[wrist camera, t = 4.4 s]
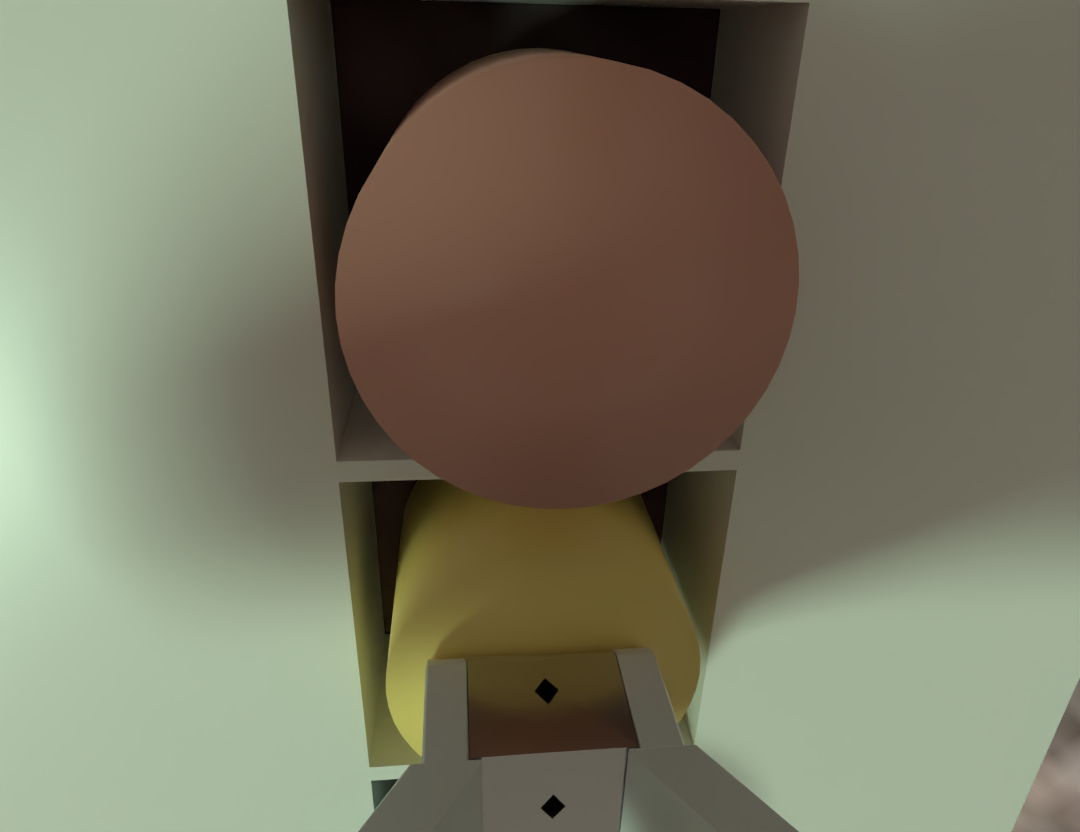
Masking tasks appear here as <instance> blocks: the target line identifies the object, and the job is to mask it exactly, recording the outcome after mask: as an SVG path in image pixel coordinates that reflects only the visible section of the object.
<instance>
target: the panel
mask: <svg viewBox="0 0 1080 832" xmlns="http://www.w3.org/2000/svg"><path fill="white" fill-rule="evenodd" d="M420 1H456V2H492V3H528V4H563V5H599V6H635V7H671V8H707V9H720V17H719V26H718V35H717V44H716V53H715V62H714V71H713V80H712V89H711V98H710V100H711V101H712V102H713V103H715V104H716V105H717V106H718V107H719V108H721V109H722V110H723V111H724V112H726V113H727V114H728V115H729V116H730V117H732V118H733V119H734V120H735V121H736V122H737V123H738V124H739V126H740V127H741V128H742V129H743V130H744V131H745V132H746V133H747V134H748V135H749V137H750V138H751V139H752V140H753V141H754V142H755V143H756V145H757V146H758V148H759V149H760V151H761V152H762V154H763V155H764V157H765V158H766V160H767V161H768V163H769V164H770V166H771V167H772V169H773V171H774V173H775V176H776V178H777V180H778V182H779V184H780V186H781V188H782V190H783V193H784V195H785V197H786V201H787V204H788V207H789V210H790V214H791V217H792V220H793V223H794V229H795V235H796V241H797V247H798V256H799V288H798V297H797V306H796V313H795V317H794V321H793V325H792V330H791V334H790V338H789V341H788V343H787V346H786V349H785V351H784V354H783V357H782V359H781V362H780V365H779V367H778V369H777V371H776V372H775V374H774V376H773V378H772V380H771V382H770V384H769V386H768V388H767V390H766V391H765V393H764V394H763V396H762V397H761V399H760V400H759V401H758V403H757V404H756V406H755V407H754V409H753V410H752V412H751V413H750V414H749V415H748V417H747V418H746V419H745V420H744V421H743V422H742V424H741V425H740V426H739V427H738V428H737V429H736V430H735V432H734V433H733V434H732V435H731V436H730V437H729V438H728V439H726V440H725V441H724V442H723V443H722V444H721V445H720V446H719V447H718V448H717V449H716V450H715V451H713V452H712V453H711V454H710V455H708V456H707V457H706V458H704V459H703V460H701V461H700V462H699V463H697V464H696V465H695V466H693V467H692V468H691V469H689V470H687V471H685V472H684V473H682V474H680V475H679V476H677V477H675V478H673V479H672V480H670V481H668V486H667V495H666V504H665V513H664V522H663V531H662V540H661V546H662V549H663V551H664V554H665V556H666V559H667V561H668V564H669V566H670V569H671V571H672V574H673V576H674V579H675V581H676V584H677V586H678V589H679V591H680V594H681V596H682V599H683V601H684V604H685V606H686V609H687V611H688V614H689V616H690V619H691V622H692V624H693V627H694V629H695V632H696V636H697V639H698V643H699V649H700V658H701V661H700V675H699V679H698V684H697V688H696V691H695V694H694V696H693V699H692V701H691V703H690V705H689V707H688V709H687V711H686V712H685V714H684V716H683V717H682V719H681V720H680V721H679V723H678V726H679V729H680V732H681V735H682V738H683V741H684V744H685V745H697V746H698V747H700V748H701V749H702V750H703V751H704V752H705V753H707V754H708V755H709V756H710V757H711V758H713V759H714V760H715V761H716V762H717V763H718V764H720V765H721V766H722V767H723V768H724V769H726V770H727V771H728V772H729V773H730V774H731V775H733V776H734V777H735V778H736V779H737V780H739V781H740V782H741V783H742V784H743V785H744V786H746V787H747V788H748V789H749V790H750V791H752V792H753V793H754V794H755V795H756V796H757V797H759V798H760V799H761V800H762V801H763V802H765V803H766V804H767V805H768V806H769V807H770V808H772V809H773V810H774V811H775V812H776V813H778V814H779V815H780V816H781V817H782V818H783V819H785V820H786V821H787V822H788V823H789V824H791V825H792V826H793V827H794V828H795V829H796V830H798V831H799V832H1012V829H1013V827H1014V825H1015V823H1016V820H1017V818H1018V816H1019V814H1020V811H1021V809H1022V807H1023V804H1024V802H1025V800H1026V798H1027V795H1028V793H1029V791H1030V789H1031V786H1032V784H1033V782H1034V780H1035V777H1036V775H1037V773H1038V771H1039V768H1040V766H1041V764H1042V761H1043V759H1044V757H1045V755H1046V752H1047V750H1048V748H1049V746H1050V743H1051V741H1052V739H1053V737H1054V734H1055V732H1056V730H1057V728H1058V725H1059V723H1060V721H1061V719H1062V716H1063V714H1064V712H1065V709H1066V707H1067V705H1068V703H1069V700H1070V698H1071V696H1072V694H1073V691H1074V689H1075V687H1076V685H1077V682H1078V680H1079V678H1080V0H420ZM348 219H349V211H348V199H347V188H346V176H345V164H344V153H343V141H342V130H341V118H340V106H339V95H338V83H337V71H336V60H335V48H334V36H333V25H332V13H331V2H330V0H0V832H358V831H359V830H360V828H361V827H362V826H363V824H364V823H365V822H366V820H367V819H368V818H369V817H370V815H371V814H372V813H373V811H374V810H375V809H376V808H377V806H378V805H379V804H380V802H381V801H382V800H383V799H384V797H385V796H386V795H387V793H388V792H389V791H390V789H391V788H392V787H393V786H394V784H395V783H396V782H397V779H399V778H400V777H401V775H402V774H403V773H404V771H405V770H406V769H407V767H408V766H409V765H410V764H421V763H422V757H421V756H420V755H419V754H418V753H417V752H416V751H415V750H413V749H412V748H411V746H410V745H409V744H408V743H407V742H406V740H405V739H404V738H403V737H402V735H401V734H400V732H399V730H398V728H397V727H396V725H395V723H394V721H393V718H392V716H391V713H390V710H389V707H388V702H387V696H386V670H387V661H388V652H389V642H390V634H385V629H384V618H383V606H382V595H381V583H380V571H379V560H378V548H377V536H376V525H375V513H374V502H373V490H372V481H399V480H431V479H441V478H439V477H437V476H436V475H434V474H433V473H431V472H430V471H429V470H427V469H426V468H424V467H423V466H421V465H420V464H418V463H417V462H416V461H414V460H413V459H412V458H411V457H410V456H409V455H408V454H407V453H405V452H404V451H403V450H402V449H401V448H400V447H399V446H398V445H397V444H395V443H394V441H393V440H392V439H391V438H390V437H389V436H388V434H387V433H386V432H385V431H384V430H383V429H382V427H381V426H380V425H379V424H378V423H377V421H376V420H375V418H374V417H373V415H372V414H371V412H370V411H369V409H368V408H367V406H366V405H365V403H364V401H363V400H362V398H361V396H360V394H359V392H358V390H357V388H356V386H355V384H354V381H353V379H352V377H351V375H350V373H349V370H348V367H347V364H346V360H345V357H344V354H343V351H342V348H341V344H340V338H339V332H338V326H337V320H336V306H335V280H336V271H337V263H338V254H339V250H340V247H341V243H342V239H343V235H344V231H345V227H346V224H347V221H348Z"/></svg>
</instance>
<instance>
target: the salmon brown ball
mask: <svg viewBox="0 0 1080 832" xmlns="http://www.w3.org/2000/svg"><path fill="white" fill-rule="evenodd" d="M798 288H799V256H798V247H797V241H796V235H795V229H794V223H793V220H792V217H791V214H790V210H789V207H788V204H787V201H786V197H785V195H784V193H783V190H782V188H781V186H780V184H779V182H778V180H777V178H776V176H775V173H774V171H773V169H772V167H771V166H770V164H769V163H768V161H767V160H766V158H765V157H764V155H763V154H762V152H761V151H760V149H759V148H758V146H757V145H756V143H755V142H754V141H753V140H752V139H751V138H750V137H749V135H748V134H747V133H746V132H745V131H744V130H743V129H742V128H741V127H740V126H739V124H738V123H737V122H736V121H735V120H734V119H733V118H732V117H730V116H729V115H728V114H727V113H726V112H724V111H723V110H722V109H721V108H719V107H718V106H717V105H716V104H715V103H713V102H712V101H711V100H710V99H708V98H707V97H705V96H703V95H702V94H700V93H698V92H697V91H695V90H693V89H691V88H690V87H688V86H686V85H685V84H683V83H681V82H679V81H677V80H674V79H672V78H669V77H667V76H664V75H662V74H660V73H657V72H655V71H652V70H649V69H645V68H641V67H637V66H633V65H629V64H625V63H621V62H617V61H612V60H607V59H603V58H598V57H593V56H589V55H584V54H579V53H575V52H570V51H565V50H557V49H547V48H528V49H515V50H510V51H505V52H499V53H494V54H492V55H489V56H486V57H483V58H480V59H477V60H475V61H472V62H470V63H468V64H466V65H464V66H462V67H460V68H459V69H457V70H455V71H453V72H451V73H450V74H448V75H447V76H446V77H444V78H443V79H441V80H440V81H439V82H437V83H436V84H434V85H433V86H432V87H431V88H430V89H429V90H428V91H427V92H426V93H425V94H424V95H423V96H422V97H420V98H419V99H418V100H417V101H416V102H415V104H414V105H413V106H412V108H411V109H410V110H409V111H408V113H407V114H406V115H405V116H404V118H403V119H402V120H401V122H400V124H399V125H398V127H397V129H396V131H395V132H394V134H393V136H392V137H391V139H390V141H389V143H388V144H387V146H386V148H385V149H384V151H383V153H382V155H381V156H380V158H379V160H378V162H377V163H376V165H375V167H374V168H373V170H372V172H371V174H370V175H369V177H368V179H367V181H366V182H365V184H364V186H363V187H362V189H361V191H360V193H359V194H358V197H357V199H356V202H355V204H354V207H353V209H352V211H351V214H350V216H349V219H348V221H347V224H346V227H345V231H344V235H343V239H342V243H341V247H340V250H339V254H338V263H337V271H336V280H335V306H336V320H337V326H338V332H339V338H340V344H341V348H342V351H343V354H344V357H345V360H346V364H347V367H348V370H349V373H350V375H351V377H352V379H353V381H354V384H355V386H356V388H357V390H358V392H359V394H360V396H361V398H362V400H363V401H364V403H365V405H366V406H367V408H368V409H369V411H370V412H371V414H372V415H373V417H374V418H375V420H376V421H377V423H378V424H379V425H380V426H381V427H382V429H383V430H384V431H385V432H386V433H387V434H388V436H389V437H390V438H391V439H392V440H393V441H394V443H395V444H397V445H398V446H399V447H400V448H401V449H402V450H403V451H404V452H405V453H407V454H408V455H409V456H410V457H411V458H412V459H413V460H414V461H416V462H417V463H418V464H420V465H421V466H423V467H424V468H426V469H427V470H429V471H430V472H431V473H433V474H434V475H436V476H437V477H439V478H441V479H443V480H445V481H447V482H449V483H450V484H452V485H454V486H456V487H458V488H460V489H462V490H465V491H468V492H470V493H473V494H475V495H478V496H481V497H483V498H486V499H490V500H494V501H498V502H502V503H506V504H510V505H516V506H523V507H531V508H543V509H569V508H580V507H591V506H596V505H601V504H606V503H611V502H616V501H619V500H622V499H625V498H629V497H632V496H635V495H638V494H641V493H644V492H646V491H648V490H651V489H653V488H655V487H657V486H660V485H662V484H664V483H666V482H668V481H670V480H672V479H673V478H675V477H677V476H679V475H680V474H682V473H684V472H685V471H687V470H689V469H691V468H692V467H693V466H695V465H696V464H697V463H699V462H700V461H701V460H703V459H704V458H706V457H707V456H708V455H710V454H711V453H712V452H713V451H715V450H716V449H717V448H718V447H719V446H720V445H721V444H722V443H723V442H724V441H725V440H726V439H728V438H729V437H730V436H731V435H732V434H733V433H734V432H735V430H736V429H737V428H738V427H739V426H740V425H741V424H742V422H743V421H744V420H745V419H746V418H747V417H748V415H749V414H750V413H751V412H752V410H753V409H754V407H755V406H756V404H757V403H758V401H759V400H760V399H761V397H762V396H763V394H764V393H765V391H766V390H767V388H768V386H769V384H770V382H771V380H772V378H773V376H774V374H775V372H776V371H777V369H778V367H779V365H780V362H781V359H782V357H783V354H784V351H785V349H786V346H787V343H788V341H789V338H790V334H791V330H792V325H793V321H794V317H795V313H796V306H797V297H798Z"/></svg>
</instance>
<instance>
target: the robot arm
mask: <svg viewBox="0 0 1080 832" xmlns="http://www.w3.org/2000/svg"><path fill="white" fill-rule="evenodd" d="M467 686H468V697H467ZM358 832H799V831H798V830H796V829H795V828H794V827H793V826H792V825H791V824H789V823H788V822H787V821H786V820H785V819H783V818H782V817H781V816H780V815H779V814H778V813H776V812H775V811H774V810H773V809H772V808H770V807H769V806H768V805H767V804H766V803H765V802H763V801H762V800H761V799H760V798H759V797H757V796H756V795H755V794H754V793H753V792H752V791H750V790H749V789H748V788H747V787H746V786H744V785H743V784H742V783H741V782H740V781H739V780H737V779H736V778H735V777H734V776H733V775H731V774H730V773H729V772H728V771H727V770H726V769H724V768H723V767H722V766H721V765H720V764H718V763H717V762H716V761H715V760H714V759H713V758H711V757H710V756H709V755H708V754H707V753H705V752H704V751H703V750H702V749H701V748H700V747H698V746H697V745H685V744H684V741H683V738H682V735H681V732H680V729H679V726H678V723H677V720H676V717H675V714H674V711H673V708H672V705H671V702H670V698H669V695H668V692H667V689H666V686H665V683H664V680H663V677H662V674H661V671H660V668H659V665H658V662H657V659H656V656H655V653H654V651H653V650H652V649H651V648H650V647H642V648H628V649H613V651H611V650H603V651H587V652H572V653H557V654H542V655H524V656H492V657H467V668H466V658H462V659H428V661H427V665H426V672H425V696H424V720H423V743H422V763H421V764H410V765H409V766H408V767H407V769H406V770H405V771H404V773H403V774H402V775H401V777H400V778H399V779H398V780H397V782H396V783H395V784H394V786H393V787H392V788H391V789H390V791H389V792H388V793H387V795H386V796H385V797H384V799H383V800H382V801H381V802H380V804H379V805H378V806H377V808H376V809H375V810H374V811H373V813H372V814H371V815H370V817H369V818H368V819H367V820H366V822H365V823H364V824H363V826H362V827H361V828H360V830H359V831H358Z"/></svg>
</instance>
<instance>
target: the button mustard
mask: <svg viewBox="0 0 1080 832" xmlns="http://www.w3.org/2000/svg"><path fill="white" fill-rule="evenodd" d="M642 647H650V648H651V649H652V650H653V651H654V653H655V656H656V659H657V662H658V665H659V668H660V671H661V674H662V677H663V680H664V683H665V686H666V689H667V692H668V695H669V698H670V702H671V705H672V708H673V711H674V714H675V717H676V720H677V723H679V721H680V720H681V719H682V717H683V716H684V714H685V712H686V711H687V709H688V707H689V705H690V703H691V701H692V699H693V696H694V694H695V691H696V688H697V684H698V679H699V675H700V661H701V658H700V649H699V643H698V639H697V636H696V632H695V629H694V627H693V624H692V622H691V619H690V616H689V614H688V611H687V609H686V606H685V604H684V601H683V599H682V596H681V594H680V591H679V589H678V586H677V584H676V581H675V579H674V576H673V574H672V571H671V569H670V566H669V564H668V561H667V559H666V556H665V554H664V551H663V549H662V546H661V544H660V541H659V538H658V536H657V533H656V531H655V528H654V526H653V523H652V521H651V518H650V516H649V513H648V511H647V508H646V506H645V503H644V501H643V498H642V496H641V494H638V495H635V496H632V497H629V498H625V499H622V500H619V501H616V502H611V503H606V504H601V505H596V506H591V507H580V508H569V509H543V508H531V507H523V506H516V505H510V504H506V503H502V502H498V501H494V500H490V499H486V498H483V497H481V496H478V495H475V494H473V493H470V492H468V491H465V490H462V489H460V488H458V487H456V486H454V485H452V484H450V483H449V482H447V481H445V480H443V479H431V480H418V481H417V482H416V484H415V486H414V488H413V490H412V491H411V493H410V495H409V498H408V501H407V504H406V507H405V510H404V516H403V522H402V530H401V540H400V549H399V558H398V568H397V577H396V586H395V596H394V605H393V614H392V624H391V633H390V642H389V652H388V661H387V670H386V696H387V702H388V707H389V710H390V713H391V716H392V718H393V721H394V723H395V725H396V727H397V728H398V730H399V732H400V734H401V735H402V737H403V738H404V739H405V740H406V742H407V743H408V744H409V745H410V746H411V748H412V749H413V750H415V751H416V752H417V753H418V754H419V755H420V756H421V757H422V743H423V720H424V696H425V672H426V665H427V661H428V659H462V658H466V668H467V657H492V656H524V655H542V654H557V653H572V652H587V651H603V650H611V651H613V649H628V648H642ZM467 697H468V686H467Z"/></svg>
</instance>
